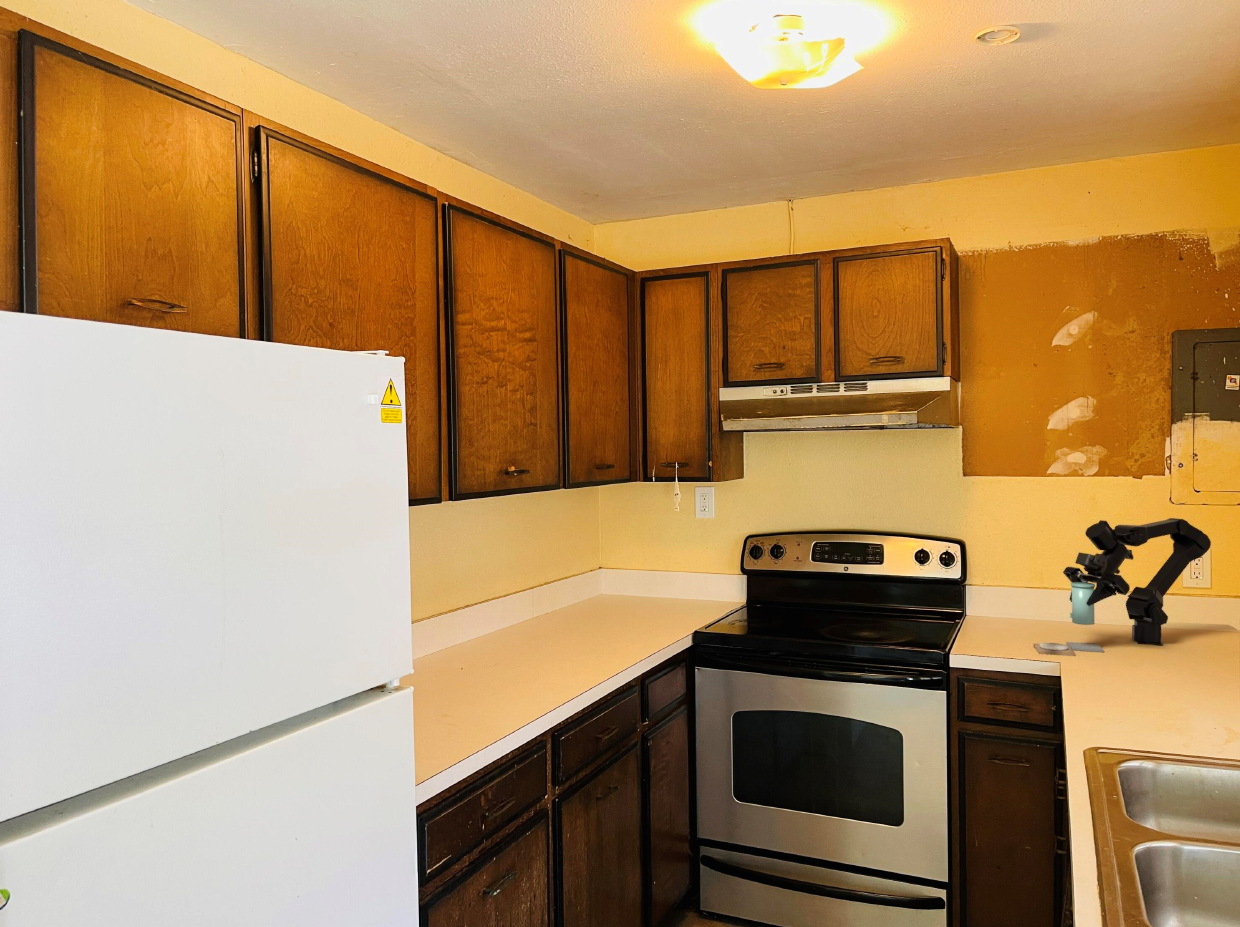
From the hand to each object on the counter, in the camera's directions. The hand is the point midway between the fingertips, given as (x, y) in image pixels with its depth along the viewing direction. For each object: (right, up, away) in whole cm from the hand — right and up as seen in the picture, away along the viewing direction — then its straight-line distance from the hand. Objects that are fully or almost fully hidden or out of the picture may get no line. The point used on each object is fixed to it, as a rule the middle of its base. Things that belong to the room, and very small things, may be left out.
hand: (1079, 602), depth 251 cm
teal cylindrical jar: (+2, -6, +1) cm, 6 cm away
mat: (+2, -13, +1) cm, 13 cm away
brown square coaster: (-8, -13, -2) cm, 16 cm away
